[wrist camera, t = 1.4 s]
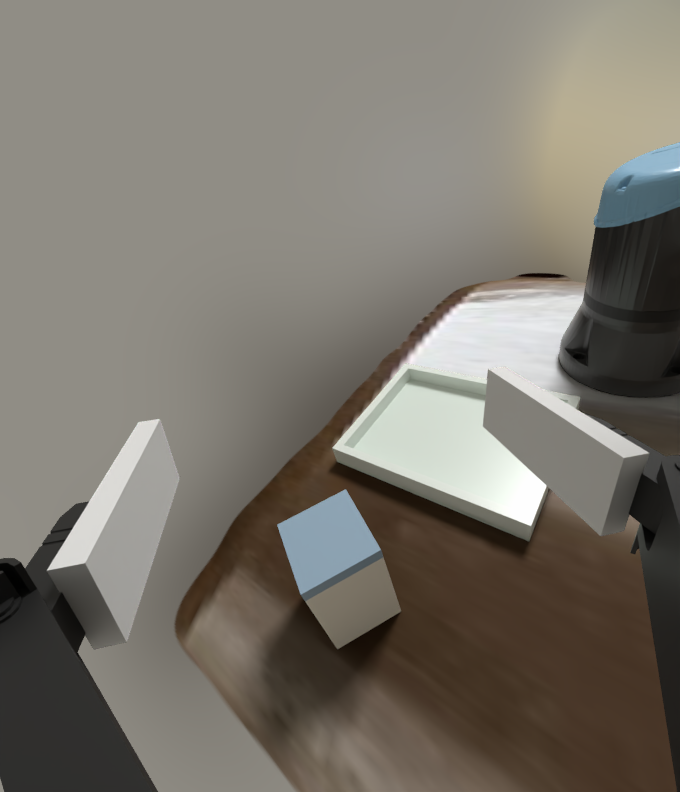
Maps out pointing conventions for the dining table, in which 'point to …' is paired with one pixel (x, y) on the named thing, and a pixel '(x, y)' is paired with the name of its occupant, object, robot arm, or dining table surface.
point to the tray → (445, 449)
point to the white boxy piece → (339, 568)
